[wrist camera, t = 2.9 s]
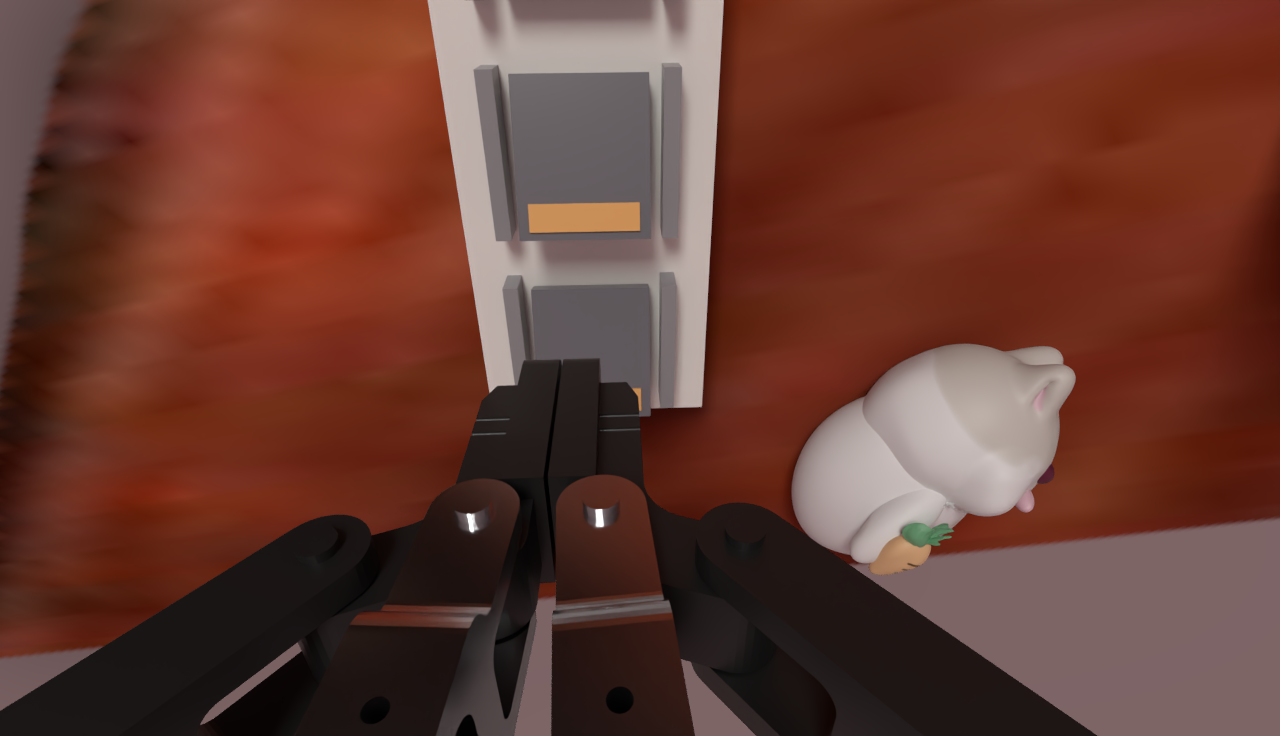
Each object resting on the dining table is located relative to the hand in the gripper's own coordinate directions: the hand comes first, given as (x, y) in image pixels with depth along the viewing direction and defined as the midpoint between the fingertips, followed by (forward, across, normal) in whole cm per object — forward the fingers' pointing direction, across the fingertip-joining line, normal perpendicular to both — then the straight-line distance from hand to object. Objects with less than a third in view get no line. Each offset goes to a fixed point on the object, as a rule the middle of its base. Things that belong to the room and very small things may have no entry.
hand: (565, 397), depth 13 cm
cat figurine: (+18, -16, +13) cm, 27 cm away
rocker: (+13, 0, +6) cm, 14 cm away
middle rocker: (+13, 0, -2) cm, 13 cm away
